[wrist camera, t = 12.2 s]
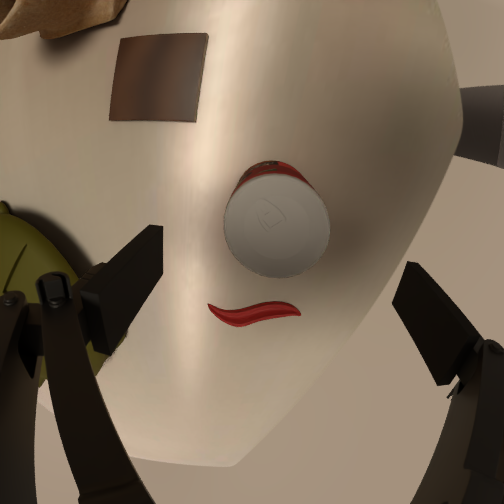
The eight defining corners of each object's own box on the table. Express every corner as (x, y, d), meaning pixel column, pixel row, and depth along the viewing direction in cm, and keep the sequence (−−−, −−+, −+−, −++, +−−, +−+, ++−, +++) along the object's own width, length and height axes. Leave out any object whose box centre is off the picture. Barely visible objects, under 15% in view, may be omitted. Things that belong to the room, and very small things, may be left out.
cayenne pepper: (205, 317, 37) (203, 326, 35) (209, 288, 35) (207, 296, 33) (294, 333, 38) (295, 342, 36) (304, 305, 36) (306, 314, 34)
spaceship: (76, 390, 48) (58, 423, 39) (-21, 295, 40) (-47, 318, 31) (154, 305, 37) (128, 354, 28) (12, 162, 29) (-36, 177, 20)
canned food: (266, 144, 28) (268, 151, 18) (324, 193, 30) (353, 225, 20) (221, 200, 31) (200, 236, 21) (278, 244, 33) (284, 297, 22)
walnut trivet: (208, 35, 23) (207, 32, 23) (195, 121, 27) (193, 121, 27) (124, 40, 23) (120, 38, 22) (112, 120, 27) (108, 120, 26)
